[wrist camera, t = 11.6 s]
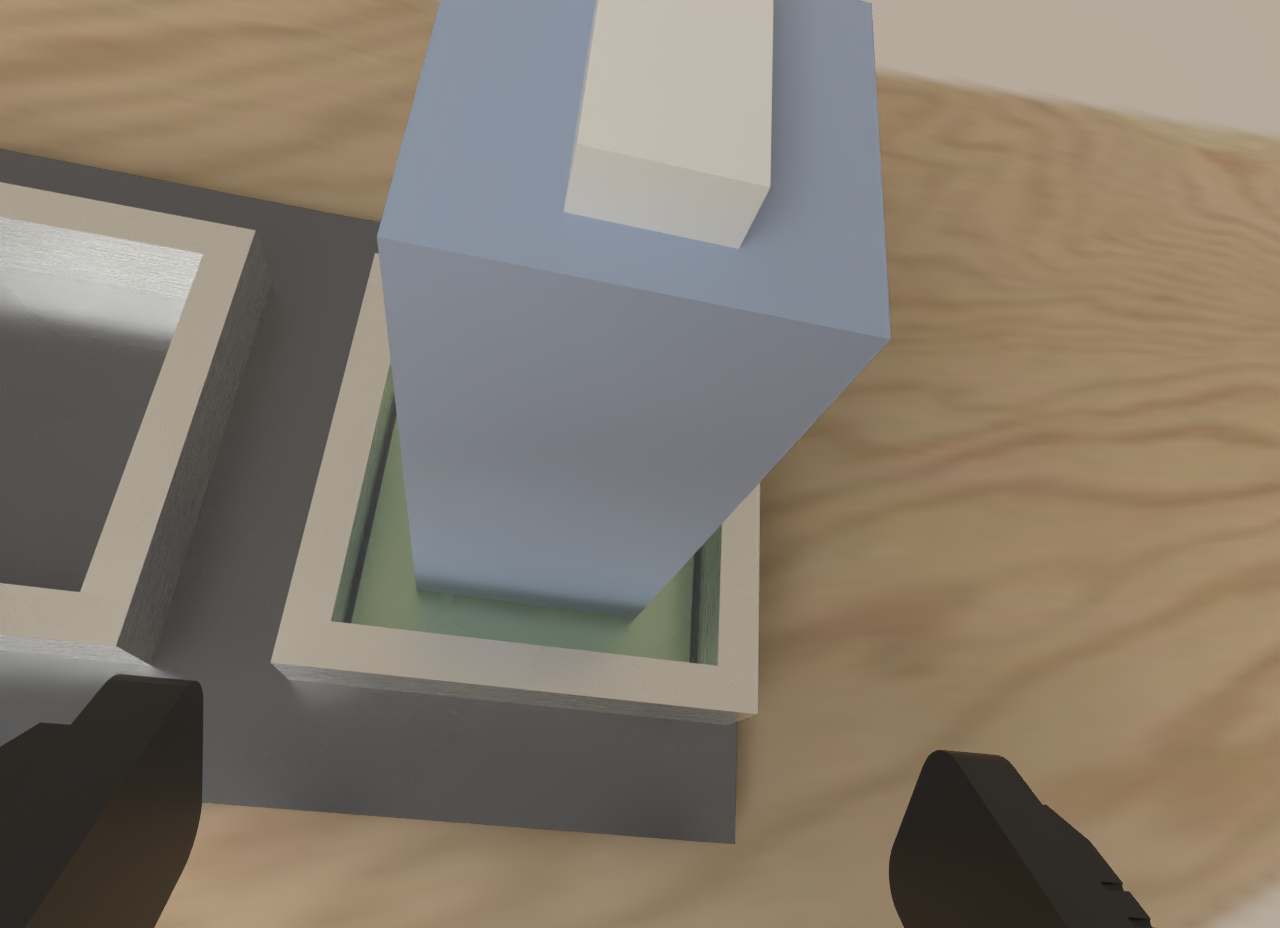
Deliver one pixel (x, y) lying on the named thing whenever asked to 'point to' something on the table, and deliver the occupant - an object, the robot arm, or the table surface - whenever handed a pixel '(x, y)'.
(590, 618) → the panel
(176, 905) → the table surface
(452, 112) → the plug
